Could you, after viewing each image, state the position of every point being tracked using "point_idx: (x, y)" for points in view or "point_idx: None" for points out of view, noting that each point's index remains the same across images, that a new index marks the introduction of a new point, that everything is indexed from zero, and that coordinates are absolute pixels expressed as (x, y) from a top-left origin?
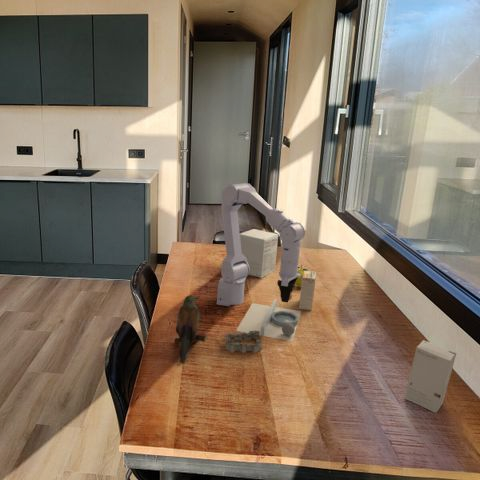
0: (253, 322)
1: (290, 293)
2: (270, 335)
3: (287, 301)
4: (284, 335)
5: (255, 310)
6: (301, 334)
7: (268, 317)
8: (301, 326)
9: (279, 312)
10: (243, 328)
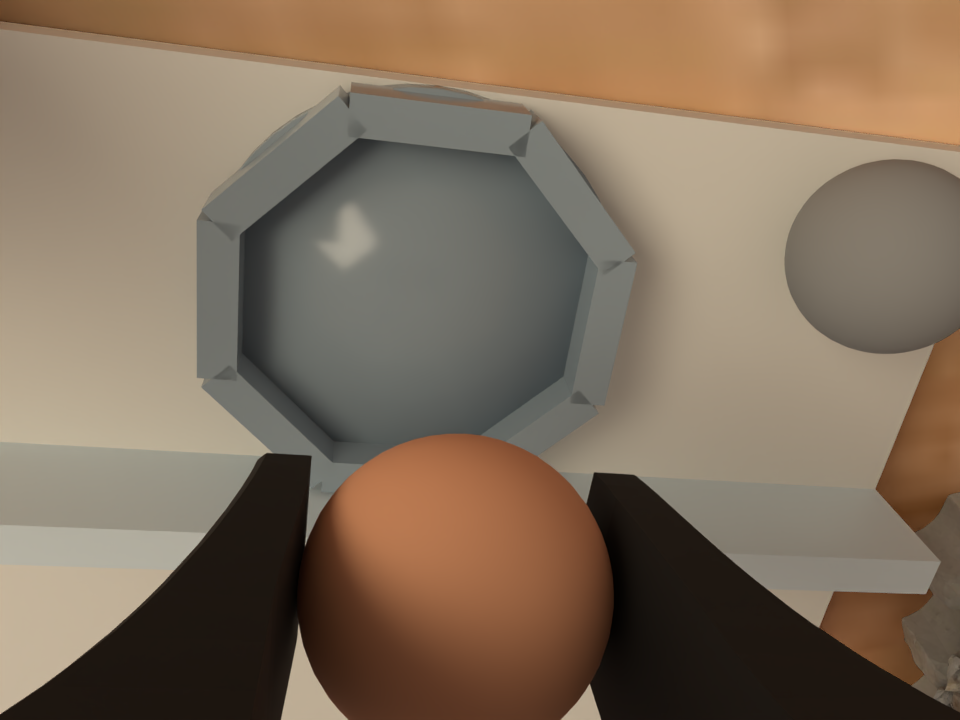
0: None
1: (754, 605)
2: (862, 425)
3: (644, 494)
4: None
5: None
6: (702, 12)
7: None
8: (431, 8)
9: (276, 408)
10: None
